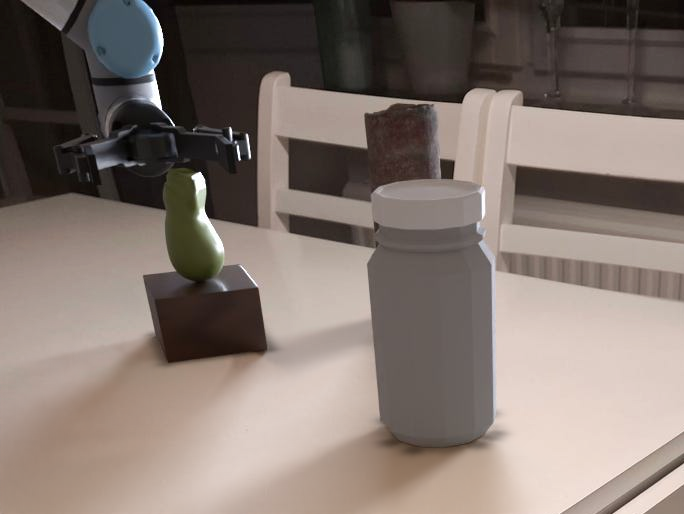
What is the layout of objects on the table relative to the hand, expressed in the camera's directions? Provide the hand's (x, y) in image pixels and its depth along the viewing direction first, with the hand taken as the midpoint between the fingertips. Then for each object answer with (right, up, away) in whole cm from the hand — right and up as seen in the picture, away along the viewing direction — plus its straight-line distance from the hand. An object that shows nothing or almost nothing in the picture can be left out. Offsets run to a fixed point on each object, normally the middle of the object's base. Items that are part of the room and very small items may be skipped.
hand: (164, 164), depth 102 cm
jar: (+29, -32, -17) cm, 47 cm away
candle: (+25, -13, +8) cm, 29 cm away
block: (+4, -17, +2) cm, 18 cm away
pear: (+4, -13, -1) cm, 13 cm away
